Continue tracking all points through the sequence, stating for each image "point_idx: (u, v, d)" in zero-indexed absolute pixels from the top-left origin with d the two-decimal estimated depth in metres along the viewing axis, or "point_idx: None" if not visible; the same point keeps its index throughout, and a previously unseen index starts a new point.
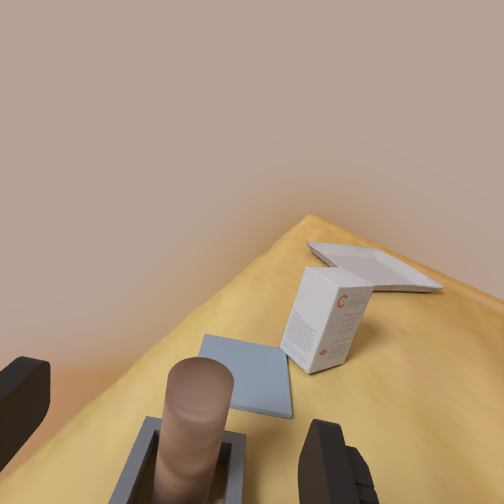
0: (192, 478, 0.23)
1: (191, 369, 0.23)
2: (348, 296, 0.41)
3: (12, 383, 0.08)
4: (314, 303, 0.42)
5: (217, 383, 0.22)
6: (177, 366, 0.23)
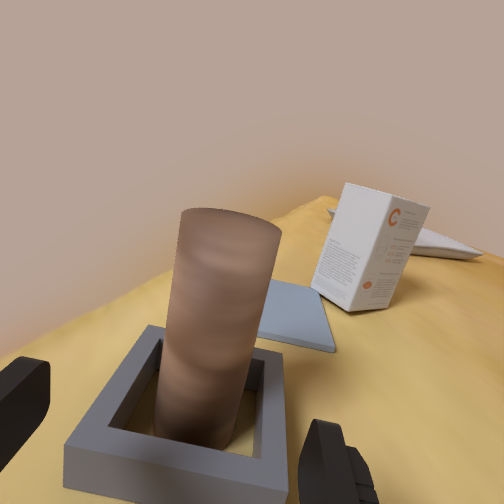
0: (215, 374, 0.15)
1: (216, 214, 0.15)
2: (401, 212, 0.33)
3: (12, 383, 0.08)
4: (357, 223, 0.34)
5: (257, 228, 0.15)
6: (195, 209, 0.15)
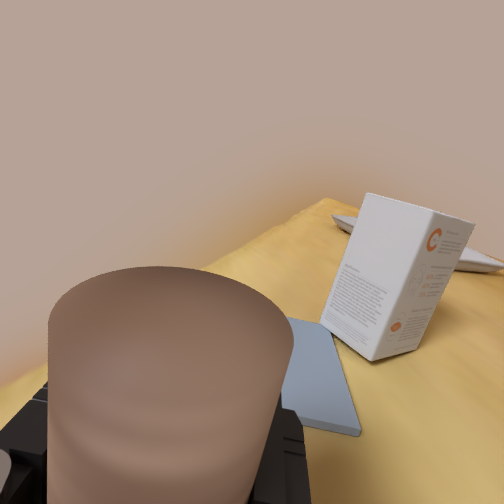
0: None
1: (152, 288, 0.07)
2: (442, 233, 0.25)
3: None
4: (382, 246, 0.26)
5: (237, 329, 0.06)
6: (108, 277, 0.07)
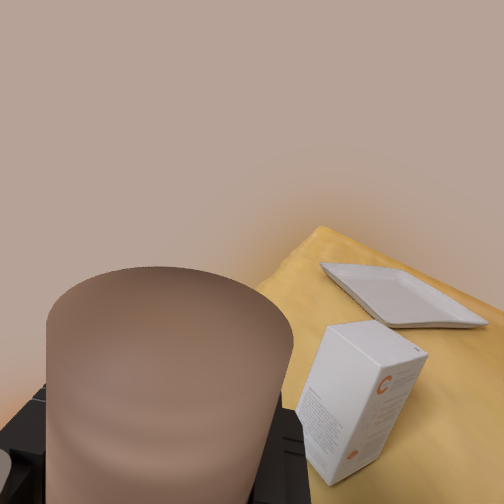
0: None
1: (151, 289, 0.07)
2: (393, 376, 0.27)
3: None
4: (339, 382, 0.28)
5: (236, 330, 0.06)
6: (107, 277, 0.07)
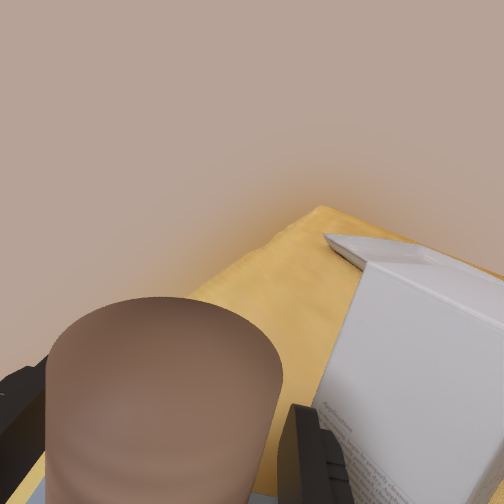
0: None
1: (147, 323, 0.07)
2: None
3: None
4: (404, 394, 0.11)
5: (228, 367, 0.07)
6: (104, 312, 0.08)
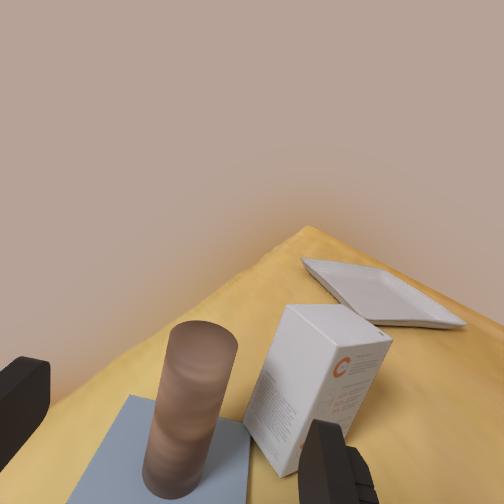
0: (187, 444, 0.21)
1: (194, 330, 0.22)
2: (351, 359, 0.25)
3: (12, 383, 0.08)
4: (295, 364, 0.26)
5: (220, 345, 0.21)
6: (179, 326, 0.22)
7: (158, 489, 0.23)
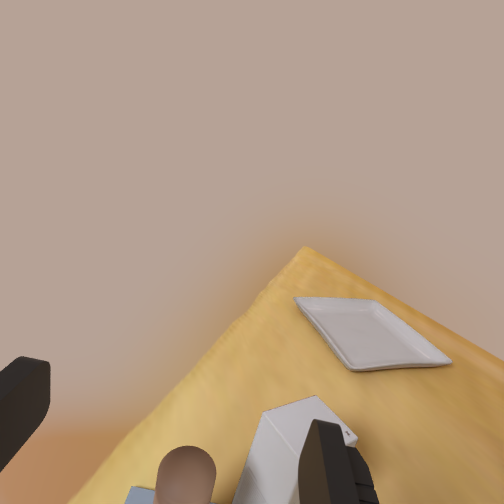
0: None
1: (179, 461, 0.26)
2: None
3: (12, 383, 0.08)
4: (271, 469, 0.30)
5: (201, 477, 0.26)
6: (166, 457, 0.26)
7: None
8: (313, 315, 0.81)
